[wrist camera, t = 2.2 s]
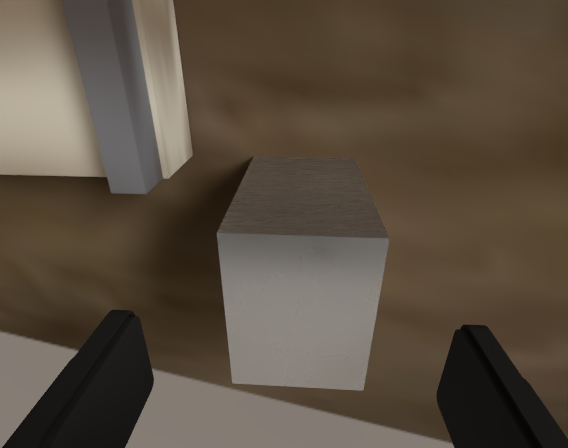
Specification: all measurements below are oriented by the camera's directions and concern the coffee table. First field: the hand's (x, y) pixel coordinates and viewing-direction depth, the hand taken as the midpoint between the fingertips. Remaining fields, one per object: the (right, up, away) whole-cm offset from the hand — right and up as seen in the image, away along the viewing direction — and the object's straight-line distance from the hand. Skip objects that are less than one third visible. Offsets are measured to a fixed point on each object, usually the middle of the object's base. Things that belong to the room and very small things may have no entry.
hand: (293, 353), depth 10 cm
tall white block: (+1, +4, +6) cm, 8 cm away
